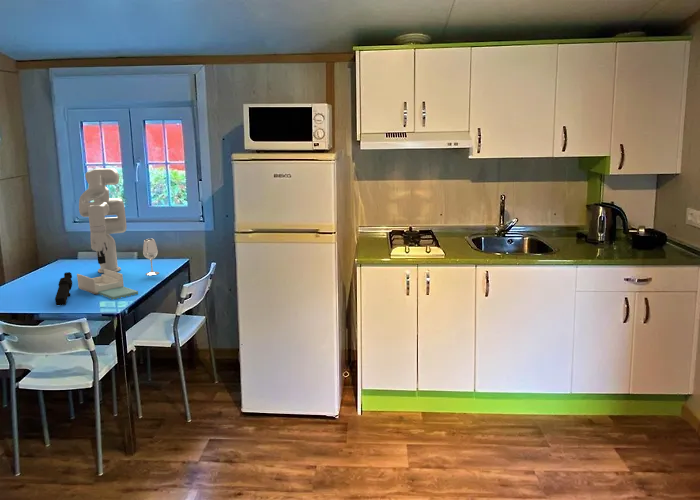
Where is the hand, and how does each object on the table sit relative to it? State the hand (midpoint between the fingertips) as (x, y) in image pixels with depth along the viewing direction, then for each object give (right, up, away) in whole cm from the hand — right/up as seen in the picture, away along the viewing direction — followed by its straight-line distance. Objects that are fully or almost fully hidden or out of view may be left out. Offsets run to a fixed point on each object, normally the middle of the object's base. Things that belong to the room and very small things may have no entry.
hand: (102, 263), depth 311 cm
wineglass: (+15, -7, +34) cm, 38 cm away
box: (-2, -13, +5) cm, 14 cm away
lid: (+11, -16, -7) cm, 21 cm away
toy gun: (-12, -18, -14) cm, 26 cm away
